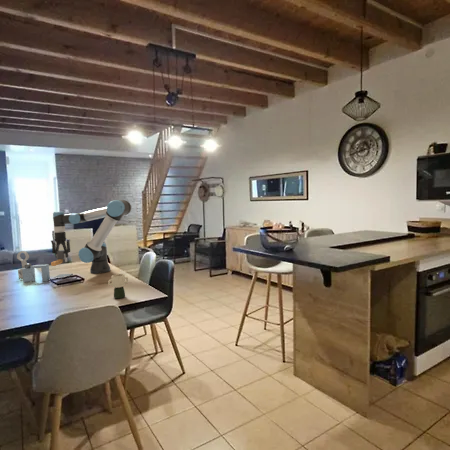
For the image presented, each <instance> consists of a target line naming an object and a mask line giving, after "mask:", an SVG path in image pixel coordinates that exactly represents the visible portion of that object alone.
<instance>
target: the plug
mask: <svg viewBox="0 0 450 450" xmlns="http://www.w3.org/2000/svg"><path fill="white" fill-rule="evenodd" d="M64 254H65V251H64V249H59V251H57V258H56V260H53V261H51V263H50V264H51V267H55V266H58V265H61V264H65V263H66V262H65V258H64Z"/></svg>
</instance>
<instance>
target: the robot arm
mask: <svg viewBox="0 0 450 450" xmlns="http://www.w3.org/2000/svg"><path fill="white" fill-rule="evenodd" d="M131 211H132V205H131V202H129V201H128V200H126V199H120V200H119V199H115V200H111V201H110V202H108V204H107V205H106V206H105V207H100V208H96V209H92V210H88V211H87V210H86V211H83V212H79V213H65V212H64V211H53V213H52V219H53V220H52V221H53V232H54V233H53V234H54V239H53V240H50V242H51V249H52V254H55V258H56V259H57V251H59V250H60V245H61V246H62V248H63V250H64V251H65V254H64V258H65V263H67V262H68V258H69V253H71V245H70V242H71V239H67V237H66V236H67V235H66V225H75V224H80V223H86V222H90V221H94V220H99V219H103V220H102V222H101V223H100V225H99V227H98V228H97V230H96V231H95V234H94V235H93V237H92V238H91V240H89V241H87V242H86V244H84V245H85V246H84V247H82V248H80V249H79V251H78V258H79V260H80V262H82V263H86V264H89V263H91V266H90V269H89V271H90V274H102V273H109V272H110V271H111V266H110V265H109V261H108V251H107V244H106V243H105V241H106V240H107V238H108V236H109V235H110V234H111V232H112V230H113V228H114V227H115V225H116V224H117V222H120V221H121V220H122V218H123V216H126V215H128V214H130V213H131Z"/></svg>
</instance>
